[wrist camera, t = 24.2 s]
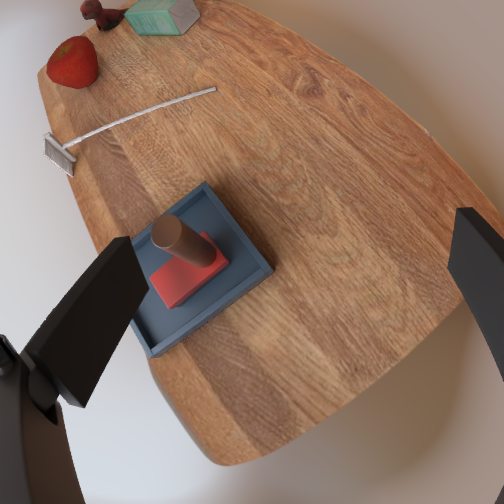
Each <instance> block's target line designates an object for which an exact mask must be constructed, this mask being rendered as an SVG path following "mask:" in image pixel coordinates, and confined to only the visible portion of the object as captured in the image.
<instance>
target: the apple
mask: <svg viewBox="0 0 504 504" xmlns="http://www.w3.org/2000/svg"><path fill="white" fill-rule="evenodd" d="M98 68H99V67H98V61H97V55H96V52H95V49H94V45H93V43H92V42H91V41H90V40H89V39H88V38H87V37H85V36H75V37H72V38H70V39H67V40H66V41H65V42H63V43H62V44H61V45H60V46H59V47H58V48H57V49H56V50H55V51H54V53H53V54H52V56H51V57H50V59H49V61H48V63H47V75H48V77H49V78H50V79H51V80H52V81H53V82H55V83H58V84H60V85H63V86H67V87H71V88H75V89H80V88H83V87H86V86H89V85H91V84H92V83H93V82H94V81H95V80H96V78H97V74H98Z"/></svg>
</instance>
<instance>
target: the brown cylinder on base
mask: <svg viewBox="0 0 504 504" xmlns="http://www.w3.org/2000/svg"><path fill="white" fill-rule="evenodd" d="M151 239H152V242H153V243H154V245H155V246H157V247H159V248H160V249H162V250H164V251H166V252H168V253H170V254H172V255H174V256H173V257H172V258H171V259H170V260H169V261H168V262H166V263H165V264H164V265H163V266H162V267H161V268H160V269H158V270H157V271H156V272H155V273H154V274H153V275H152V276H150V277H149V279H150V280H151V282H152V283H153V285H154V287H155V288H156V290H157V291H158V293H159V295H160V296H161V298H162V299H163V301H164V302H165V304H166V306H167V307H168V308H169V309H174V308H175V307H178V308H179V307H180V306H181V305H183V304H184V303H185V302H186V301H187V300H189V299H190V298H191V297H192V296H194V295H195V294H196V293H197V292H198V291H200V290H201V289H202V288H203V287H204V286H206V285H207V284H208V283H209V282H211V281H212V280H213V279H214V278H215V277H217V276H218V275H219V274H220V273H222V272H223V271H224V270H225V269H226V268H228V267H229V266H230V265H231V264H230V263H229V261H228V260H227V258H226V257H225V256H224V254H223V253H222V252H221V250H220V249H219V248H218V246H217V245H216V244H215V243H214V241H213V240H212V239H211V237H210V236H209V235H208V233H206V232H205V231H203V232H202V233H201V234H198V233H197V232H196V231H194V230H193V229H192V228H191V227H189V226H188V225H187V224H186V223H184V222H183V221H182V220H181V219H179V218H178V217H177V216H175V215H172V214H165V215H162V216H161V217H159V218H158V219H157V220H156V221H155V222H154V224H153V225H152V228H151Z"/></svg>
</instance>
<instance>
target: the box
mask: <svg viewBox="0 0 504 504" xmlns="http://www.w3.org/2000/svg"><path fill="white" fill-rule="evenodd" d="M124 16H125V18H126V19H127V21H128V22H129V24H130V25H131V27H132V28H133V29H134V31H135V32H136V33H137V34H138V35H183V34H184V33H185V32H186V31H187V30H188V29H189V28H190V27H191V26H192V25H193V24H194V23H195V22H196V21H197V20H198V19H199V18H200V13H199V11H198V9H197V7H196V5H195V3H194V1H193V0H138V1H137V2H136V3H135V4H134V5H133V6H132V7H130V8H129V9H128V10H127V11H126V13H125V14H124Z"/></svg>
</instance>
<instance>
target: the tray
mask: <svg viewBox="0 0 504 504" xmlns="http://www.w3.org/2000/svg"><path fill="white" fill-rule="evenodd" d="M165 214H172V215H175V216H177V217H178V218H179V219H181V220H182V221H183V222H184V223H186V224H187V225H188V226H189V227H191V228H192V229H193V230H194V231H196V232H197V233H198V234H201V233H202V232H203V231H205V232H206V233H208V235H209V236H210V237H211V239H212V240H213V241H214V243H215V244H216V245H217V246H218V248H219V249H220V250H221V252H222V253H223V254H224V256H225V257H226V258H227V260H228V261H229V263H230V264H231V265H230V266H229V267H228V268H226V269H225V270H224V271H223V272H222V273H220V274H219V275H218V276H217V277H215V278H214V279H213V280H212V281H211V282H209V283H208V284H207V285H206V286H204V287H203V288H202V289H201V290H200V291H198V292H197V293H196V294H195V295H194V296H192V297H191V298H190V299H189V300H187V301H186V302H185V303H184V304H183V305H181V306H180V307H179V308H178V307H175V308H174V309H169V308H168V307H167V306H166V304H165V302H164V301H163V299H162V298H161V296H160V295H159V293H158V291H157V290H156V288H155V287H154V285H153V283H152V282H151V280H150V279H149V277H150V276H152V275H153V274H154V273H155V272H156V271H157V270H158V269H160V268H161V267H162V266H163V265H164V264H165V263H166V262H168V261H169V260H170V259H171V258H172V257H173V256H174V255H172V254H170V253H168V252H166V251H164V250H162V249H160V248H159V247H157V246H155V245H154V243H153V242H152V239H151V228H152V225H153V224H154V222H155V221H156V220H157V219H156V220H155V221H154V222H153V223H152V224H150V225H149V226H148V227H147V228H146V229H145V230H143V231H142V232H141V233H140V234H139V235H137V236H136V237H135V238H134V239H133V240H132V241H131V243H132V245H133V248H134V251H135V253H136V256H137V258H138V261H139V263H140V266H141V269H142V271H143V274H144V276H145V278H146V281H147V283H148V286H149V288H150V289H149V291H148V292H147V294H146V296H145V297H144V299H143V301H142V303H141V304H140V306H139V308H138V309H137V311H136V313H135V315H134V316H133V318H132V320H131V322H130V325H131V327H132V329H133V331H134V333H135V335H136V336H137V338H138V340H139V342H140V344H141V345H142V347H143V349H144V350H145V352H146V354H147V356H148V357H149V358H157V357H159V356H161V355H162V354H164V353H165V352H166V351H168V350H169V349H171V348H172V347H173V346H175V345H176V344H178V343H179V342H180V341H182V340H183V339H185V338H186V337H187V336H189V335H190V334H192V333H193V332H194V331H196V330H197V329H198V328H200V327H201V326H203V325H204V324H205V323H207V322H208V321H209V320H211V319H212V318H213V317H215V316H216V315H218V314H219V313H220V312H222V311H223V310H224V309H226V308H227V307H228V306H230V305H231V304H232V303H234V302H235V301H236V300H238V299H239V298H241V297H242V296H243V295H245V294H246V293H247V292H249V291H250V290H251V289H253V288H254V287H255V286H257V285H258V284H259V283H261V282H262V281H263V280H265V279H266V278H267V277H268V276H270V275H271V274H272V273H274V270H273V269H272V268H271V266H270V265H269V264H268V262H267V261H266V260H265V258H264V257H263V256H262V254H261V253H260V252H259V250H258V249H257V248H256V247H255V245H254V244H253V243H252V241H251V240H250V239H249V237H248V236H247V235H246V233H245V232H244V231H243V229H242V228H241V227H240V225H239V224H238V223H237V222H236V220H235V219H234V218H233V216H232V215H231V214H230V212H229V211H228V210H227V208H226V207H225V206H224V204H223V203H222V202H221V200H220V199H219V198H218V197H217V195H216V194H215V193H214V191H213V190H212V189H211V187H210V186H209V185H208V184H207V182H206V181H204V182H203V183H202V184H200V185H199V186H198V187H196V188H195V189H194V190H192V191H191V192H190V193H189V194H187V195H186V196H185V197H184V198H182V199H181V200H180V201H179V202H177V203H176V204H175V205H174V206H172V207H171V208H170V209H169V210H167V211H166V212H165V213H164V214H163V215H165ZM161 216H162V215H161ZM161 216H160V217H161Z"/></svg>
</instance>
